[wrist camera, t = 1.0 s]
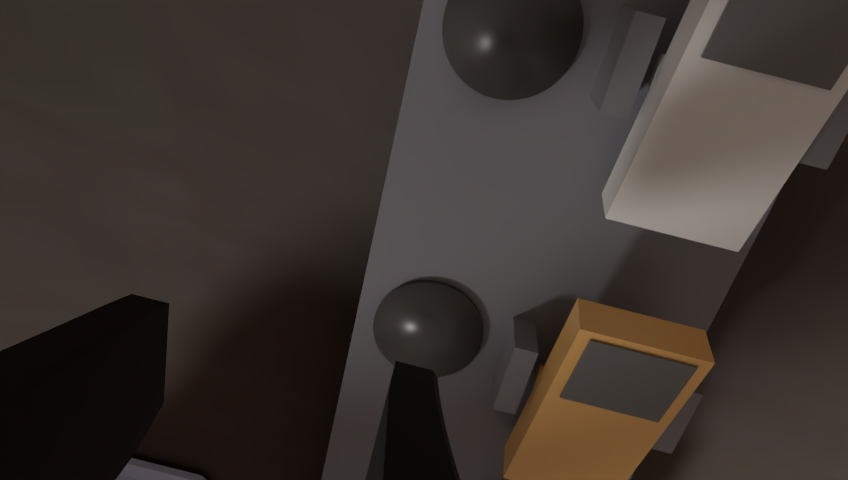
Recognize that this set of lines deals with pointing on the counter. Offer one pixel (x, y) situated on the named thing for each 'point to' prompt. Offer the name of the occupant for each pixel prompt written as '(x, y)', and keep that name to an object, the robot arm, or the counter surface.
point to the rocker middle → (605, 395)
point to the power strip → (517, 216)
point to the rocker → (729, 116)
